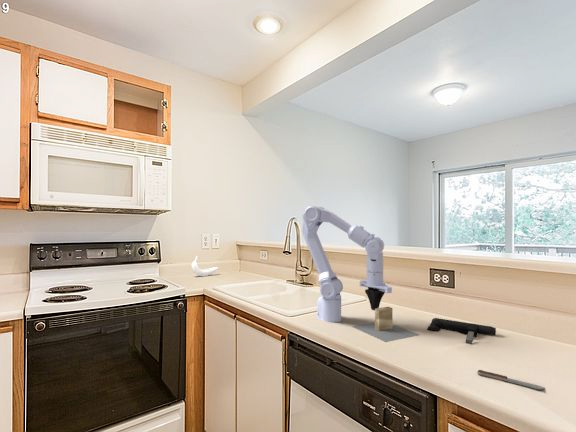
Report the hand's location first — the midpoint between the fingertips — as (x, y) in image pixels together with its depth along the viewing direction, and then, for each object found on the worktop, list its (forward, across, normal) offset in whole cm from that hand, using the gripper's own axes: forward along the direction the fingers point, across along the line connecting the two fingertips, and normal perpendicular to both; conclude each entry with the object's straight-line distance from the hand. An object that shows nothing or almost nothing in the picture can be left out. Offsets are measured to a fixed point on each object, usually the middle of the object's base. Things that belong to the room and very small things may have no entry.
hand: (374, 309), depth 120 cm
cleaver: (+7, -45, -2) cm, 46 cm away
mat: (+6, -6, +1) cm, 9 cm away
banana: (+6, +136, +29) cm, 140 cm away
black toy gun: (+7, -18, -21) cm, 29 cm away
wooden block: (+5, -4, 0) cm, 7 cm away
